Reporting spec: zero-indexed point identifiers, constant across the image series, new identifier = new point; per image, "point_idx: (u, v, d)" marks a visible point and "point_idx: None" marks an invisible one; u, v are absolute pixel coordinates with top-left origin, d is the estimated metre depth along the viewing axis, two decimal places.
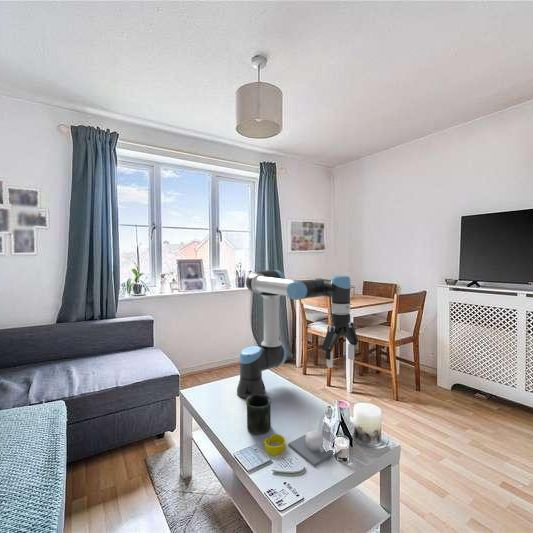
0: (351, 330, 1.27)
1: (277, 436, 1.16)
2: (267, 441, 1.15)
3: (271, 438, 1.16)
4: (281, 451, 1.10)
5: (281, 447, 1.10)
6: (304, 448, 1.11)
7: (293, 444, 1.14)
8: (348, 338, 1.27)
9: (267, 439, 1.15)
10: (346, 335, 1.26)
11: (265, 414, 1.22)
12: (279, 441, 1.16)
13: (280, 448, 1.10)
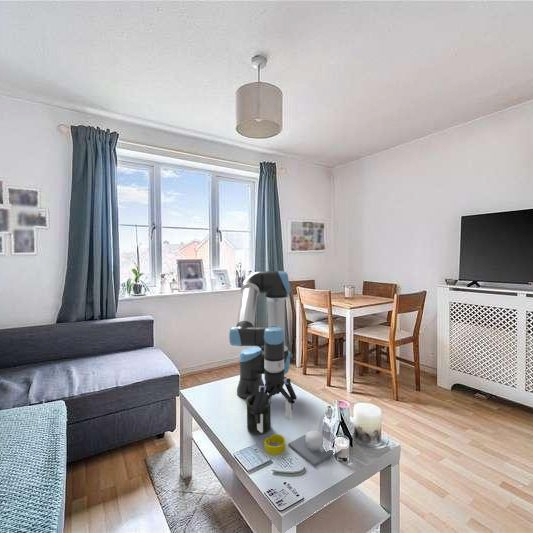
0: (288, 387, 1.15)
1: (277, 436, 1.16)
2: (267, 441, 1.15)
3: (271, 438, 1.16)
4: (281, 451, 1.10)
5: (281, 447, 1.10)
6: (304, 448, 1.11)
7: (293, 444, 1.14)
8: (284, 396, 1.15)
9: (267, 439, 1.15)
10: (282, 393, 1.14)
11: (265, 414, 1.22)
12: (279, 441, 1.16)
13: (280, 448, 1.10)
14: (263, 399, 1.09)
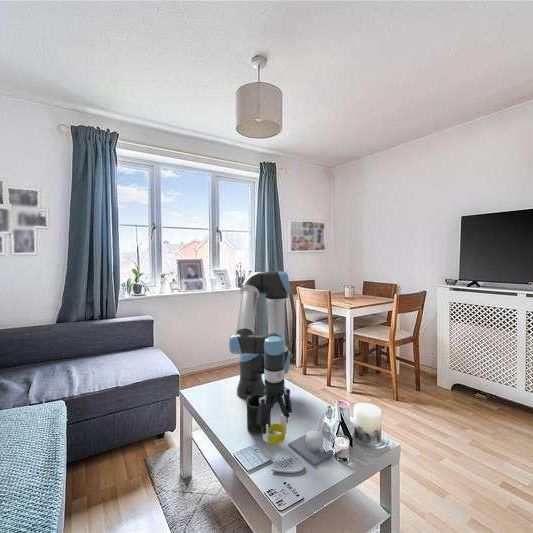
0: (286, 398, 1.15)
1: (277, 425, 1.17)
2: None
3: (271, 427, 1.17)
4: (281, 439, 1.11)
5: (281, 435, 1.11)
6: (304, 448, 1.11)
7: (293, 444, 1.14)
8: (281, 407, 1.15)
9: None
10: (279, 403, 1.14)
11: None
12: (279, 430, 1.17)
13: (280, 436, 1.10)
14: (266, 410, 1.10)
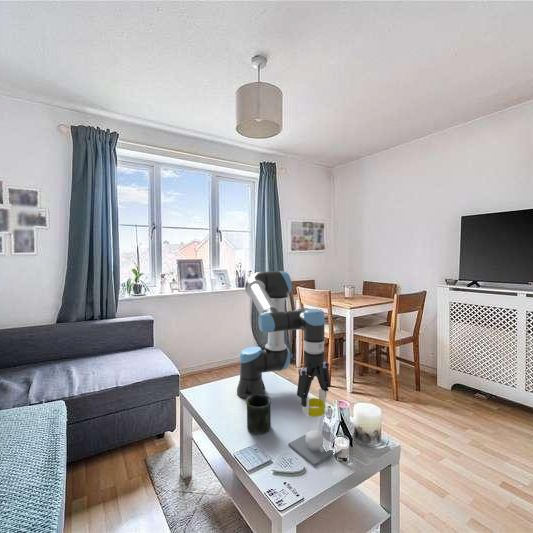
0: (325, 371, 1.14)
1: (316, 400, 1.15)
2: None
3: (309, 402, 1.15)
4: (321, 413, 1.09)
5: (321, 409, 1.09)
6: (304, 448, 1.11)
7: (293, 444, 1.14)
8: (320, 381, 1.14)
9: None
10: (318, 377, 1.13)
11: (265, 414, 1.22)
12: (317, 405, 1.15)
13: (320, 410, 1.09)
14: (306, 382, 1.09)
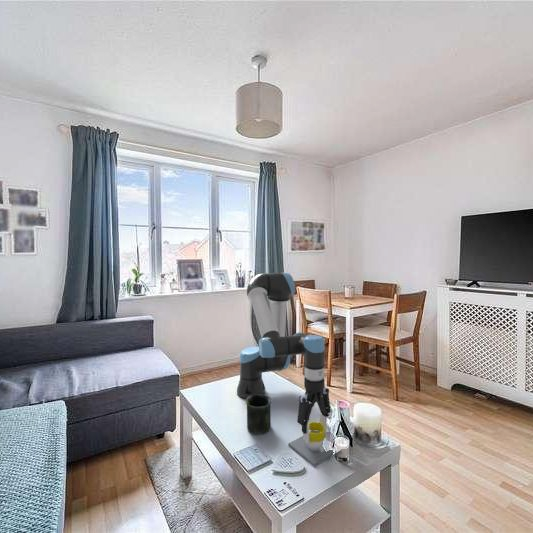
0: (325, 397, 1.15)
1: (316, 424, 1.16)
2: None
3: (310, 425, 1.15)
4: (322, 438, 1.10)
5: (322, 434, 1.10)
6: (304, 448, 1.11)
7: (293, 444, 1.14)
8: (320, 407, 1.14)
9: None
10: (319, 403, 1.13)
11: (265, 414, 1.22)
12: (318, 428, 1.15)
13: (321, 435, 1.09)
14: (306, 409, 1.10)
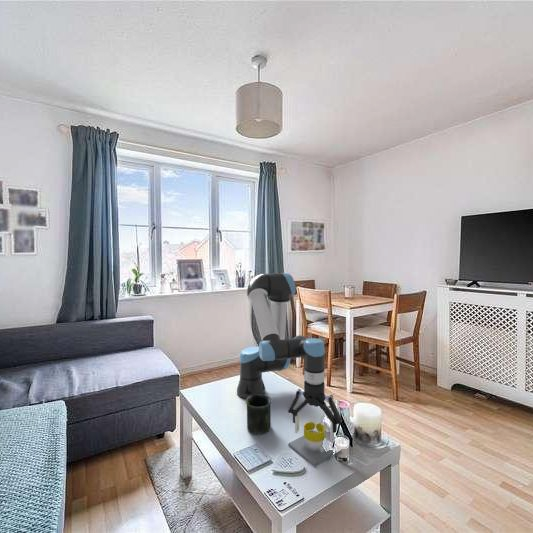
0: None
1: (322, 427, 1.13)
2: (312, 425, 1.16)
3: (317, 425, 1.15)
4: (313, 439, 1.09)
5: (313, 435, 1.09)
6: (304, 448, 1.11)
7: (293, 444, 1.14)
8: None
9: (312, 423, 1.16)
10: None
11: (265, 414, 1.22)
12: None
13: (312, 435, 1.09)
14: (301, 404, 1.14)
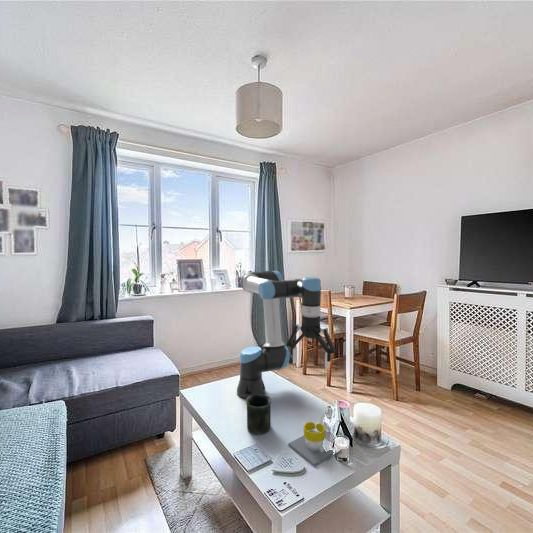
0: None
1: (322, 427, 1.13)
2: (312, 425, 1.16)
3: (317, 425, 1.15)
4: (313, 439, 1.09)
5: (313, 435, 1.09)
6: (304, 448, 1.11)
7: (293, 444, 1.14)
8: None
9: (312, 423, 1.16)
10: None
11: (265, 414, 1.22)
12: None
13: (312, 435, 1.09)
14: None
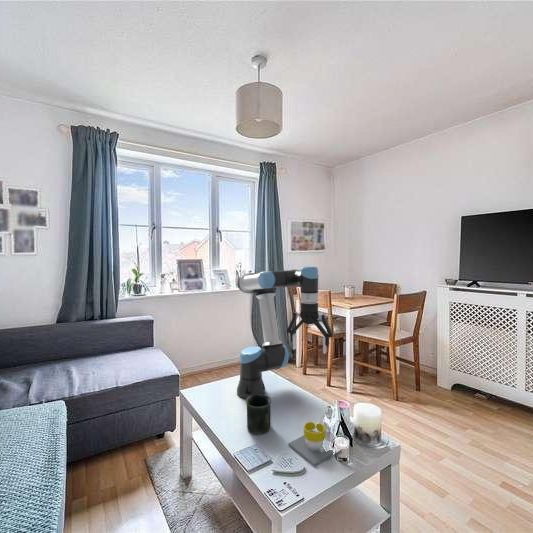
0: None
1: (322, 427, 1.13)
2: (312, 425, 1.16)
3: (317, 425, 1.15)
4: (313, 439, 1.09)
5: (313, 435, 1.09)
6: (304, 448, 1.11)
7: (293, 444, 1.14)
8: None
9: (312, 423, 1.16)
10: None
11: (265, 414, 1.22)
12: None
13: (312, 435, 1.09)
14: (298, 324, 1.31)
